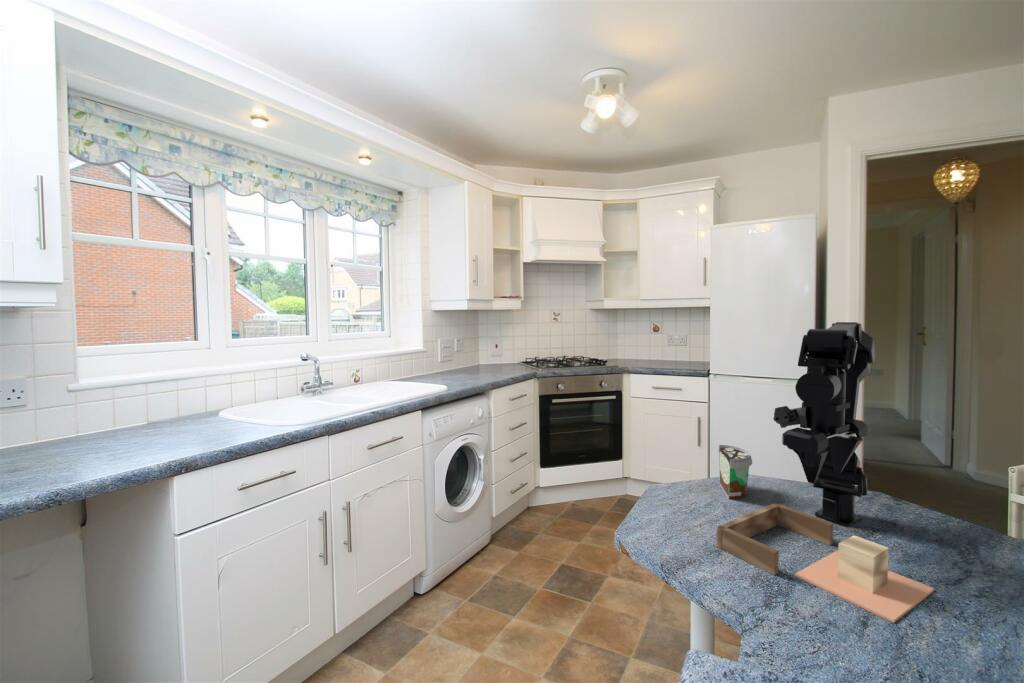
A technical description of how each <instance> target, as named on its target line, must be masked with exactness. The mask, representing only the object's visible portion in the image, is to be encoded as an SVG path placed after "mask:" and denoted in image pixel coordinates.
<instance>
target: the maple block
mask: <svg viewBox="0 0 1024 683" xmlns="http://www.w3.org/2000/svg"><path fill="white" fill-rule="evenodd" d="M837 550H838V578H839V579H841V580H843V581H845V582H848V583H850V584H852V585H854V586H857V587H859V588H861V589H863V590H866V591H868V592H870V593H872V594H873V593H874V592H876V591H877V590H878V589H880V588H881V587H883V586H884V585H886V584H887V578H888V570H889V547H887V546H884V545H882V544H879V543H876V542H873V541H871V540H868V539H866V538H862V537H860V536H857V535H852V536H850V537H848V538H846V539H844V540H842V541H841V542H839V543H838V549H837Z"/></svg>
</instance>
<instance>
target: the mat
mask: <svg viewBox="0 0 1024 683" xmlns="http://www.w3.org/2000/svg"><path fill="white" fill-rule="evenodd" d="M794 577H796V578H798V579H800V580H802V581H804V582H806V583H808V584H811V585H813V586H815V587H817V588H819V589H821V590H823V591H825V592H827V593H828V594H829V593H830V594H832V595H834V596H836V597H838V598H840V599H842V600H844V601H847V602H848V603H851V604H852V605H855V606H858V607H859V608H861V609H864V610H865V611H868V612H870V613H871V614H873V615H876V616H878V617H880V618H883V619H884V620H886V621H889V622H891V623H893V624H895V623H896V621H898V620H900V619H901V618H902V617H903V616H905V615H906V614H907V613H908V612H909V611H911V610H912V609H913V608H914V607H916V606H917V605H918V604H919V603H921V602H923V600H925V599H926V598H927V597H928V596H929V595H931V594H932V593H933V592H934V591H935V588H934V587H931V586H929V585H928V584H927V585H926V584H924V583H921V582H919V581H916V580H914V579H912V578H908V577H907V576H903V575H901V574H898V573H896V572H894V571H891V570H889V569H888V578H887V584H886V585H884V586H883V587H881V588H880V589H878V590H877V591H876V592H874V593H873V594H872V593H870V592H868V591H866V590H863V589H861V588H859V587H857V586H854V585H852V584H850V583H848V582H845V581H843V580H841V579H839V578H838V549H837V550H835V551H833V552H831V553H830V554H828V555H826V556H824V557H823V558H821V559H818V560H817V561H815V562H814V563H812V564H810V565H808V566H807V567H804V568H803V569H801V570H799V571H798V572H796V573H794Z"/></svg>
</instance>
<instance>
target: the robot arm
mask: <svg viewBox="0 0 1024 683" xmlns="http://www.w3.org/2000/svg"><path fill="white" fill-rule="evenodd" d="M874 341H875V340H874V338H873V337H872V336H870V335H869V334H868V333H866V332H865V331H864V330H863V327H862V323H861V322H860V323H858V322H857V321H855V322H853V321H851V322H850V321H849V322H847V321H846V322H845V321H837V322H833V323H831V326H830V327H828V328H826V329H825V328H809V329H808V330H807V332H806V334H803V336H802V342H801V346H800V351H799V355H798V360H797V367H805V368H807V369H806V373H805V374H803V375H801V376H800V377H799V378H798V379H797V381H796V384H795V388H794V389H795V392H796V395H797V396H798V399H799V400H801V401H802V402H801V407H796V408H789V406H788V405H785V406H784V405H783V406H778V407H775V408H774V413H773V418H772V419H773V421H774V422H775V423H777V424H778V425H779V426H780V428H781V429H784V428H787V427H790V426H796V425H797V426H799V427H795V428H791V429H788V430H786V431H785V432H783V433H782V437H781V438H782V439H781V444H782V445H783V446H786V447H787V448H788V449H789V450H792V451H793V452H794V453H795V454H796V455H797V456H798V460H800V463H801V467H802V469H803V472H804V475H805V477H806V481H807V482H808V483H809V484H813V486H812V487H813V488H816V489H822V492H821V493H822V500H821V504H822V505H821V509H819V510H817V511H814V515H815V517H818V518H821V519H824V520H826V521H827V520H828V521H829V522H832V523H833V522H834V523H836V524H839V525H842V526H845V527H849V526H851V525H853V524H854V523H856V522H858V521H860V520H862V519H863V516H862V515H861V514H860V515H859V514H857V513H856V512H855V511H856V510H855V509H856V505H855V504H856V497H857V498H862V496H867V495H868V480H867V479H868V478H867V475H866V474H865V472H864V467H861V460H860V458H859V456H858V455H857V453H856V452H855V451H856V450H857V448H858V447H859V446H860V444H861V443H862V442H863V441H864V437H867V436H868V427H869V426H868V425H867V424H866V423H865V421H863V420H859V419H857V411H858V410H857V409H858V402H859V392H860V391H859V390H860V384H861V382H862V381H863V380H865V378H866V377H867V376H869V374H870V372H871V366H872V364H875V360H876V359H875V358H876V346H875V342H874Z"/></svg>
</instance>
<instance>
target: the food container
mask: <svg viewBox="0 0 1024 683" xmlns="http://www.w3.org/2000/svg"><path fill="white" fill-rule="evenodd" d="M718 456H719V457H718V459H719V460H718V461H719V462H718V465H719V469H718V470H719V485H720V487H721V489H722V491H723V492H724V493H725V495H726V497H727V498H728V500H740V499H743V498H745V497H746V496H747V492H748V481H749V474H750V473H749V470H750V466H752V465H753V458H752V456H751V453H750V451H748V450H746V449H744V448H741V447H739V446H735V445H734V446H733V445H726V444H718Z"/></svg>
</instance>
